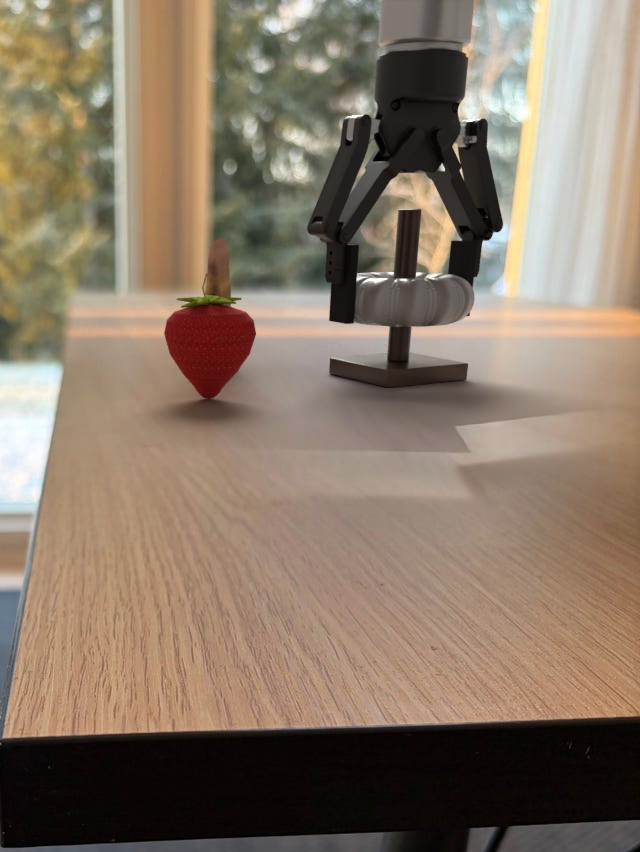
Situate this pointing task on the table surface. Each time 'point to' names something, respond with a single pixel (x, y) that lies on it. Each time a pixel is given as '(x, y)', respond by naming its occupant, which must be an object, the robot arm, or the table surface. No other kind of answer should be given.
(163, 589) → the table surface
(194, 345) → the strawberry
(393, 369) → the stand
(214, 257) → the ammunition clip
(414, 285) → the ring
